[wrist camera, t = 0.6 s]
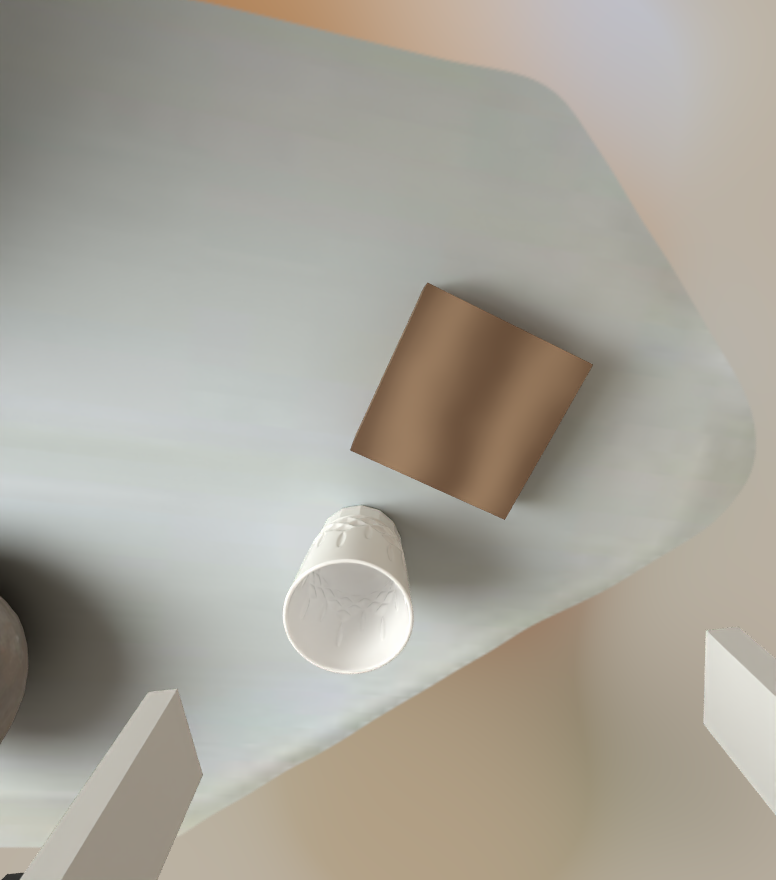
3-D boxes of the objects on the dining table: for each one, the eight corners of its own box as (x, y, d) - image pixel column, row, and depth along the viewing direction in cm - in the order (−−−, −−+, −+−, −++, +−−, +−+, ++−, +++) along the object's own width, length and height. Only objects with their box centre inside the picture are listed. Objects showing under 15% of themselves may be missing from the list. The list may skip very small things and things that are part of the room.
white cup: (399, 490, 36) (401, 549, 26) (415, 578, 37) (423, 664, 28) (302, 506, 36) (269, 570, 26) (322, 592, 38) (298, 682, 28)
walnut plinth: (354, 436, 35) (350, 450, 31) (423, 288, 32) (427, 282, 28) (492, 499, 36) (504, 519, 32) (569, 360, 33) (593, 364, 29)
